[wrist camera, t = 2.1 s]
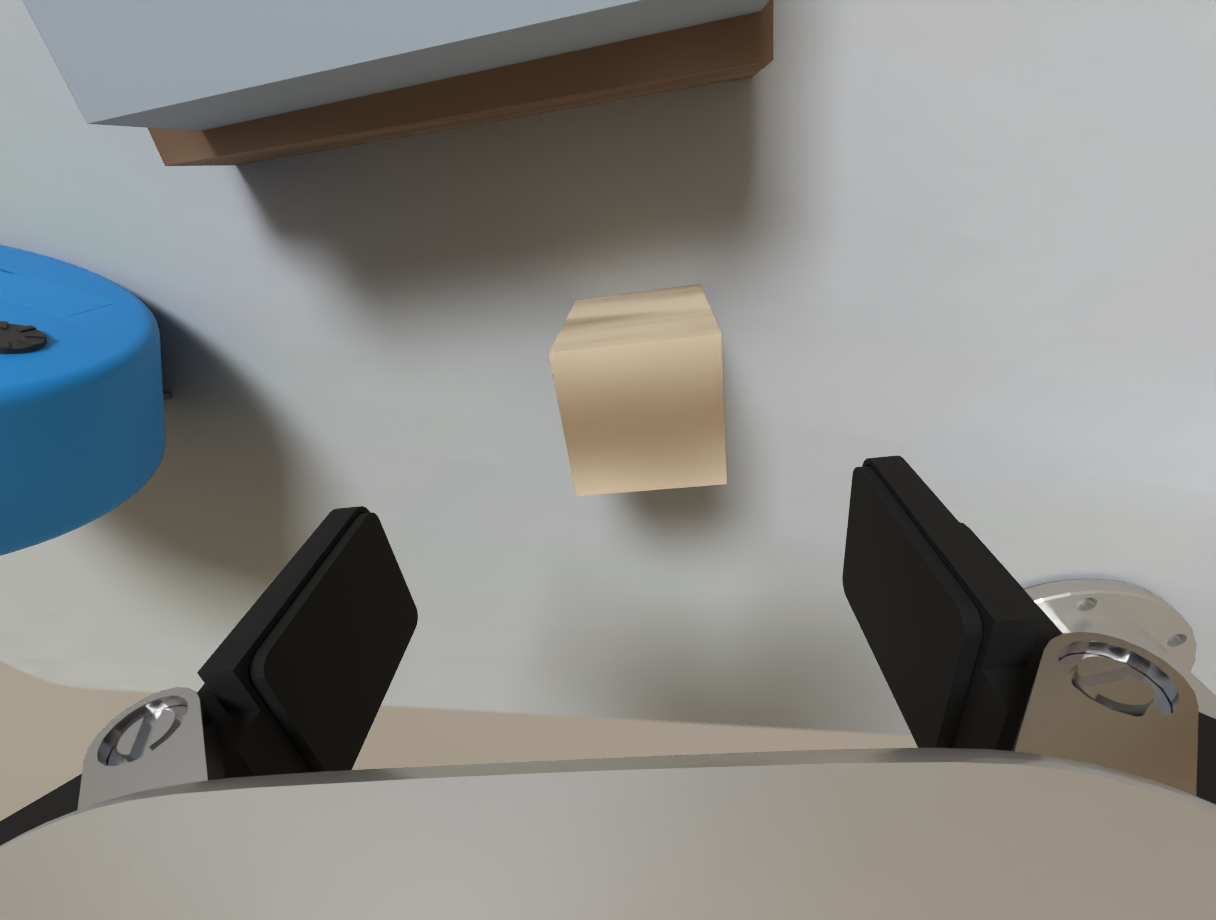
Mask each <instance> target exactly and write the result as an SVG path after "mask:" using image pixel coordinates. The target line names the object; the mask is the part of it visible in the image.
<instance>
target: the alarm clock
mask: <svg viewBox="0 0 1216 920" xmlns="http://www.w3.org/2000/svg"><path fill="white" fill-rule="evenodd" d="M170 398H172V393H170V392H169V391H163V383H162V366H161V348H160V331H159V328H158V324H157V321H156V319H155V317H154V315H153V313H152V312H151V311H150V310H149V308H148V307H147V306H146V305H145V304H144V303H143V302H142V301H141V300H140V299H139V298H138V297H136V296H135V295H134V294H132V293H131V292H129V291H128V290H127V289H125V288H123V287H121V286H120V285H118V284H116V283H114V282H112V281H110V280H108V279H106V278H104V277H102V276H100V275H98V274H95V273H93V272H91V271H88V270H86V269H83V268H80V267H78V266H75V265H72V264H69V263H66V262H63V261H60V260H57V259H54V258H50V257H47V256H43V255H40V254H36V253H32V252H28V251H24V250H20V249H16V248H12V247H7V246H2V245H0V555H4V554H8V553H11V552H14V551H18V550H21V549H24V548H27V547H30V546H33V545H36V544H39V543H42V542H45V541H47V540H50V539H53V538H55V537H58V536H61V535H63V534H65V533H68V532H70V531H72V530H74V529H77V528H79V527H81V526H83V525H85V524H87V523H89V522H91V521H93V520H95V519H97V518H99V517H101V516H103V515H104V514H106V513H108V512H109V511H111V510H113V509H114V508H116V507H117V506H119V505H120V504H121V503H123V502H124V501H126V500H127V499H128V498H130V497H131V496H132V495H133V494H134V493H135V492H137V491H138V490H139V489H140V488H141V487H142V486H143V485H144V484H145V483H146V482H147V481H148V480H149V479H150V478H151V477H152V475H153V474H154V472H155V471H156V469H157V468H158V466H159V464H160V462H161V460H162V457H163V453H164V449H165V439H166V436H165V418H164V400H167V399H170Z"/></svg>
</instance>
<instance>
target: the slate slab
mask: <svg viewBox="0 0 1216 920" xmlns="http://www.w3.org/2000/svg"><path fill="white" fill-rule="evenodd" d="M22 1H23V3H24V5H25V6H26V8H27V10H28V12H29V14H30V16H31V18H32V20H33V22H34V24H35V25H36V27H37V29H38V31H39V33H40V35H41V37H42V39H43V41H44V43H45V44H46V46H47V48H48V50H49V52H50V54H51V56H52V58H53V60H54V62H55V64H56V65H57V67H58V69H59V71H60V73H61V75H62V77H63V79H64V81H65V83H66V84H67V86H68V88H69V90H70V92H71V94H72V96H73V98H74V100H75V102H76V103H77V105H78V107H79V109H80V111H81V113H82V115H83V117H84V119H85V121H86V123H87V124H100V125H116V126H133V127H149V128H165V129H181V130H197V131H203V130H208V129H212V128H217V127H222V126H226V125H231V124H236V123H240V122H245V121H250V120H254V119H259V118H264V117H268V116H273V115H278V114H282V113H287V112H292V111H296V110H301V109H306V108H310V107H315V106H320V105H324V104H329V103H334V102H339V101H343V100H348V99H353V98H357V97H362V96H367V95H371V94H376V93H381V92H385V91H390V90H395V89H399V88H404V87H409V86H413V85H418V84H423V83H427V82H432V81H437V80H441V79H446V78H451V77H455V76H460V75H465V74H469V73H474V72H479V71H483V70H488V69H493V68H497V67H502V66H507V65H511V64H516V63H521V62H525V61H530V60H535V59H539V58H544V57H549V56H554V55H558V54H563V53H568V52H572V51H577V50H582V49H586V48H591V47H596V46H600V45H605V44H610V43H614V42H619V41H624V40H628V39H633V38H638V37H642V36H647V35H652V34H656V33H661V32H666V31H670V30H675V29H680V28H684V27H689V26H694V25H698V24H703V23H708V22H712V21H717V20H722V19H726V18H731V17H736V16H740V15H745V14H750V13H755V12H759V11H762V9H763V8H764V7H765V6H766V4H767V3H768V2H769V1H770V0H22Z"/></svg>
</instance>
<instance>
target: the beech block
mask: <svg viewBox="0 0 1216 920" xmlns="http://www.w3.org/2000/svg"><path fill="white" fill-rule="evenodd" d="M549 357H550V362H551V367H552V373H553V378H554V383H555V388H556V393H557V399H558V404H559V409H560V414H561V420H562V425H563V430H564V435H565V441H566V446H567V451H568V456H569V461H570V467H571V472H572V477H573V482H574V488H575V493H576V496H586V495H599V494H611V493H623V492H636V491H648V490H660V489H673V488H685V487H698V486H710V485H722V484H727V473H726V445H725V418H724V391H723V364H722V336H721V331H720V329H719V327H718V324H717V322H716V320H715V317H714V315H713V313H712V310H711V308H710V306H709V303H708V301H707V299H706V296H705V294H704V292H703V289H702V287H701V285H692V286H684V287H676V288H668V289H660V290H652V291H644V292H636V293H628V294H620V295H612V296H604V297H596V298H588V299H580V300H576V301H575V303H574V305H573V307H572V309H571V311H570V313H569V314H568V316H567V318H566V320H565V322H564V324H563V326H562V328H561V330H560V332H559V334H558V336H557V338H556V340H555V342H554V344H553V346H552V348H551V350H550V352H549Z"/></svg>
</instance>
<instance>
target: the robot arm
mask: <svg viewBox="0 0 1216 920" xmlns="http://www.w3.org/2000/svg"><path fill="white" fill-rule="evenodd" d="M843 587H844V591H845V595H846V597H847V599H848V601H849V604H850V606H851V608H852V610H853V612H854V614H855V616H856V618H857V620H858V622H859V625H860V627H861V629H862V631H863V633H864V635H865V637H866V639H867V641H868V643H869V645H870V648H871V650H872V652H873V654H874V656H875V658H876V660H877V662H878V664H879V666H880V668H881V671H882V673H883V675H884V677H885V679H886V681H887V683H888V685H889V687H890V689H891V692H892V694H893V696H894V698H895V700H896V702H897V704H898V706H899V708H900V710H901V712H902V715H903V717H904V719H905V721H906V723H907V725H908V727H909V729H910V731H911V733H912V736H913V738H914V740H915V742H916V744H917V746H918V748H898V749H897V748H894V749H893V748H891V749H845V750H807V751H780V752H755V753H728V754H703V755H676V756H652V757H651V756H650V757H627V758H604V759H580V760H556V761H534V762H513V763H490V764H467V765H446V766H426V767H406V768H387V769H366V770H352V767H353V765H354V763H355V761H356V759H357V757H358V754H359V752H360V750H361V748H362V745H363V743H364V741H365V739H366V737H367V734H368V732H369V730H370V728H371V725H372V723H373V721H374V719H375V717H376V714H377V712H378V710H379V707H380V706H381V703H382V701H383V699H384V697H385V695H386V692H387V690H388V688H389V686H390V683H391V681H392V679H393V677H394V675H395V672H396V670H397V668H398V666H399V664H400V661H401V659H402V657H403V655H404V652H405V650H406V648H407V646H408V644H409V641H410V639H411V637H412V635H413V633H414V630H415V628H416V625H417V620H418V614H417V609H416V606H415V604H414V601H413V599H412V597H411V594H410V592H409V589H408V587H407V585H406V582H405V580H404V577H403V575H402V573H401V570H400V568H399V565H398V563H397V561H396V558H395V556H394V554H393V551H392V549H391V546H390V544H389V542H388V539H387V537H386V534H385V532H384V530H383V527H382V525H381V522H380V520H379V518H378V516H377V515H376V514H375V513H370V512H369V510H368V509H367V508H366V507H362V506H361V507H350V508H340V509H334V510H333V511H331V512H330V513H329V514H328V516H327V517H326V518H325V519H324V521H323V522H322V523H321V524H320V525H319V527H318V528H317V529H316V530H315V531H314V533H313V534H312V535H311V536H310V537H309V539H308V540H307V541H306V542H305V543H304V545H303V546H302V547H301V548H300V549H299V551H298V552H297V553H296V554H295V555H294V557H293V558H292V559H291V560H290V562H289V563H288V564H287V565H286V566H285V568H284V569H283V570H282V571H281V572H280V574H279V575H278V576H277V577H276V578H275V580H274V581H273V582H272V583H271V584H270V586H269V587H268V588H267V589H266V590H265V592H264V593H263V594H262V595H261V596H260V598H259V599H258V600H257V601H256V602H255V604H254V605H253V606H252V607H251V609H250V610H249V611H248V612H247V613H246V615H245V616H244V617H243V618H242V619H241V621H240V622H239V623H238V624H237V625H236V627H235V628H234V629H233V630H232V631H231V633H230V634H229V635H228V636H227V637H226V639H225V640H224V641H223V642H222V643H221V645H220V646H219V647H218V648H217V650H216V651H215V652H214V653H213V654H212V656H211V657H210V658H209V659H208V660H207V662H206V663H205V664H204V665H203V666H202V668H201V669H200V670H199V671H198V672H197V673H198V674H199V676H200V677H201V678H202V680H203V681H204V683H205V684H204V685H203V686H202V688H201V689H200V690H199V691H198V693H197V692H196V691H194V690H192V689H190V688H178V687H176V688H172V689H167V690H163V691H160V692H158V693H155V694H153V695H151V696H148V697H146V698H144V699H142V700H141V701H139V702H137V703H135V704H134V705H132V706H130V707H129V708H127V709H126V710H124V711H123V712H122V713H121V714H119V715H118V716H117V717H115V718H114V719H113V720H111V721H110V723H109V724H108V725H107V726H106V727H105V728H104V729H103V730H102V731H101V732H100V733H99V734H98V735H97V736H96V738H95V739H94V741H93V742H92V743H91V745H90V746H89V748H88V750H87V753H86V756H85V758H84V762H83V770H82V774H81V775H79V776H77V777H75V778H74V779H72V780H71V781H69V782H67V783H65V784H64V785H62V786H60V787H58V788H57V789H55V790H53V791H52V792H50V793H48V794H46V795H45V796H43V797H42V798H40V799H38V800H36V801H35V802H33V803H31V804H29V805H28V806H26V807H24V808H23V809H21V810H19V811H17V812H16V813H14V814H12V815H11V816H9V817H7V818H5V819H4V820H2V821H0V920H1216V696H1215V695H1214V694H1213V693H1212V692H1211V691H1210V690H1209V689H1208V688H1207V687H1206V686H1205V685H1204V684H1203V683H1202V682H1201V681H1200V680H1198V679H1197V678H1196V677H1195V676H1194V675H1193V674H1192V673H1191V669H1192V667H1193V664H1194V661H1195V653H1196V642H1195V638H1194V635H1193V631H1192V628H1191V627H1190V626H1189V624H1188V623H1187V622H1186V620H1185V619H1184V618H1183V616H1182V615H1181V614H1180V613H1179V612H1177V611H1176V610H1175V609H1174V608H1173V607H1171V606H1170V605H1169V604H1168V603H1167V602H1166V601H1164V600H1163V599H1162V598H1161V597H1159V596H1157V595H1155V594H1153V593H1152V592H1150V591H1148V590H1146V589H1144V588H1141V587H1138V586H1135V585H1131V584H1128V583H1125V582H1120V581H1111V580H1103V579H1074V580H1065V581H1059V582H1052V583H1046V584H1041V585H1038V586H1034V587H1031V588H1027V589H1023V588H1022V587H1021V586H1020V585H1019V583H1018V582H1017V581H1016V580H1015V579H1014V578H1013V577H1012V575H1011V574H1010V573H1009V572H1008V571H1007V570H1006V569H1005V568H1004V566H1003V565H1002V564H1001V563H1000V562H999V561H998V560H997V559H996V557H995V556H994V555H993V554H992V553H991V552H990V551H989V550H988V548H987V547H986V546H985V545H984V544H983V543H982V542H981V541H980V539H979V538H978V537H977V536H976V535H975V534H974V533H973V532H972V530H971V529H970V528H968V527H967V526H966V525H965V524H964V523H960V522H958V520H957V519H956V518H955V517H954V516H953V515H952V514H951V512H950V511H949V510H948V509H947V508H946V507H945V506H944V504H943V503H942V502H941V501H940V500H939V499H938V498H937V496H936V495H935V494H934V493H933V492H932V491H931V490H930V488H929V487H928V486H927V485H926V484H925V483H924V482H923V480H922V479H921V478H920V477H919V476H918V475H917V474H916V472H915V471H914V470H913V469H912V468H911V467H910V466H909V464H908V463H907V462H906V461H905V460H904V459H903V458H902V457H901V456H889V457H878V458H868V459H866V460H865V461H864V463H863V466H862V467H856V468H855V469H854V471H853V477H852V487H851V497H850V507H849V517H848V528H847V538H846V548H845V558H844V568H843Z"/></svg>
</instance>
